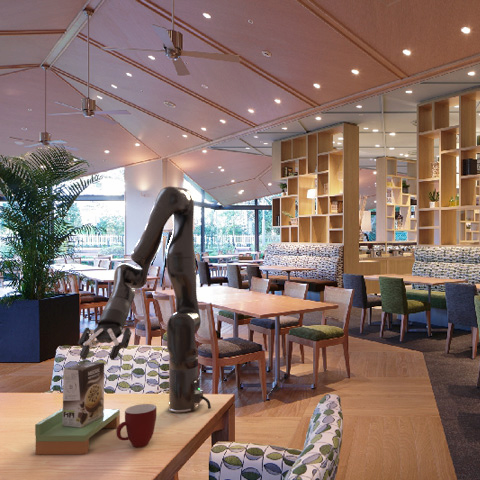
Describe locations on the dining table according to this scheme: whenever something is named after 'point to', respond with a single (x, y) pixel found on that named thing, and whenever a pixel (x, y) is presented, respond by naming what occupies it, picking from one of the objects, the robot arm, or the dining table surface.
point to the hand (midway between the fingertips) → (97, 358)
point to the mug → (138, 424)
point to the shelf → (70, 433)
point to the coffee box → (83, 394)
